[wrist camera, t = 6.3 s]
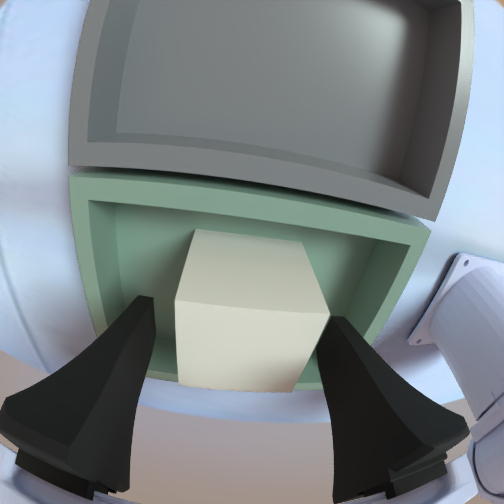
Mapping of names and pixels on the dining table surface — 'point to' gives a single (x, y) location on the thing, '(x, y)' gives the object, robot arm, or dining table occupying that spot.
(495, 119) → the dining table surface
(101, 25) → the tray
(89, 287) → the tray
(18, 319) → the dining table surface
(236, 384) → the stone block
